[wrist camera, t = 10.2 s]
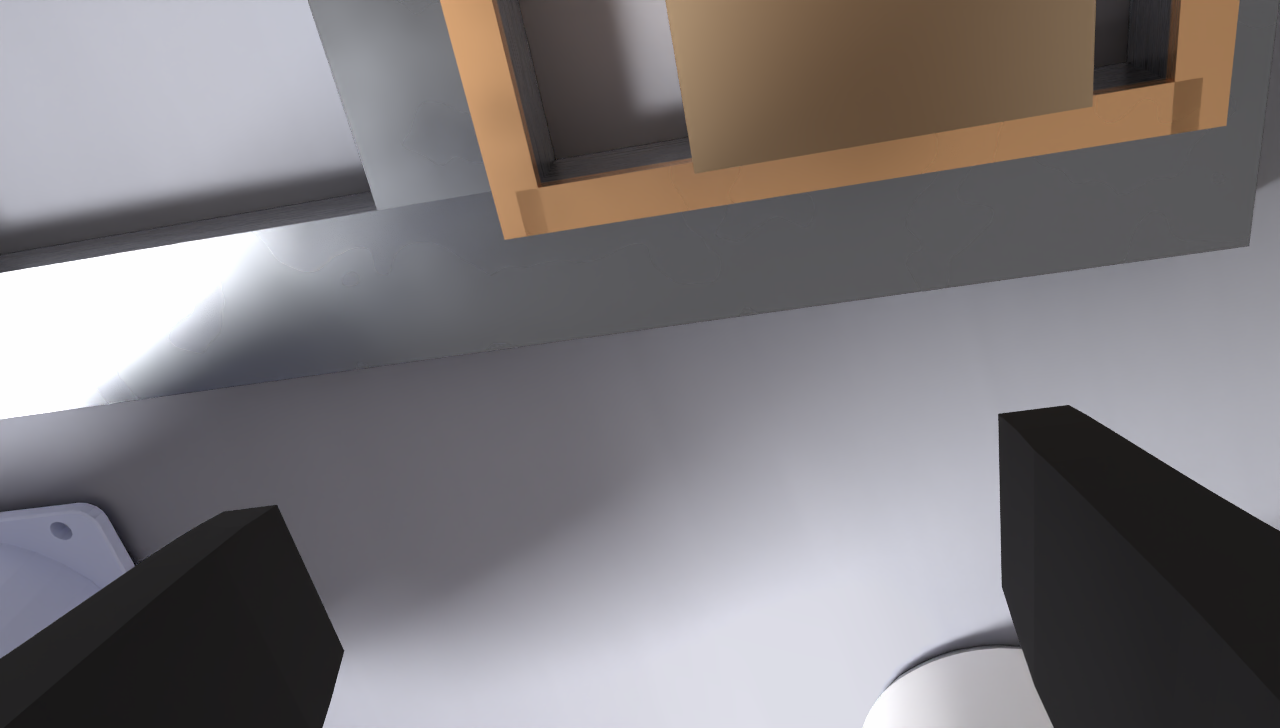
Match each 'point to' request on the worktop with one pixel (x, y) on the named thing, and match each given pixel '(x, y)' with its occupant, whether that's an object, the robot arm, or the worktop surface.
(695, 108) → the oak peg
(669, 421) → the worktop surface
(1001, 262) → the rail plate
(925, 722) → the can
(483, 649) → the worktop surface
